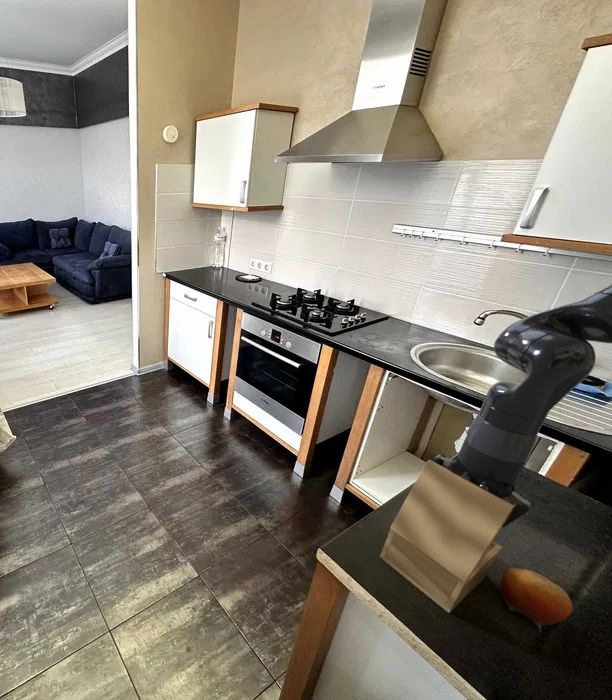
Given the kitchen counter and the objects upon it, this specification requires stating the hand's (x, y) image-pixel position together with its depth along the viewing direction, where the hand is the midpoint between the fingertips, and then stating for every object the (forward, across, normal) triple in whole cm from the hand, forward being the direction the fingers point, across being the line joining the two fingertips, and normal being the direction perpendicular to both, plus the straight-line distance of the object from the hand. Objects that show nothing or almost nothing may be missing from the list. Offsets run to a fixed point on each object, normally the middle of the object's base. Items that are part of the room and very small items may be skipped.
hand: (459, 521), depth 67 cm
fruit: (+10, -12, -2) cm, 15 cm away
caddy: (+9, 0, +4) cm, 10 cm away
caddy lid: (-5, 0, +7) cm, 9 cm away
